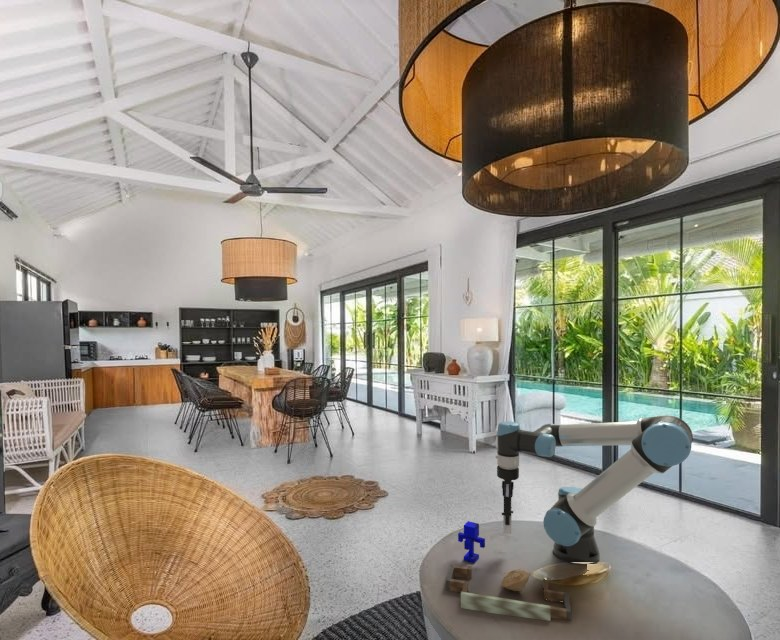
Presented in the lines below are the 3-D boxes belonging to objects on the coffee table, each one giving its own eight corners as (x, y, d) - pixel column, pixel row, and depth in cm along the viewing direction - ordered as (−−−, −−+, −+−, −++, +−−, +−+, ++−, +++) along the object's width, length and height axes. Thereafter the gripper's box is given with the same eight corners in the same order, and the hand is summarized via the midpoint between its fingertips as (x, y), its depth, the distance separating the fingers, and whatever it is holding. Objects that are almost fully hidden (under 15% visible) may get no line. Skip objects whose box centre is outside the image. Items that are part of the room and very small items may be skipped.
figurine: (465, 566, 155) (465, 530, 155) (457, 555, 162) (457, 521, 162) (486, 563, 157) (486, 528, 157) (477, 552, 164) (476, 518, 164)
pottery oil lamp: (523, 578, 148) (523, 556, 148) (533, 600, 136) (533, 576, 136) (495, 577, 148) (495, 555, 148) (504, 600, 136) (503, 576, 136)
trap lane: (565, 589, 141) (565, 576, 141) (571, 626, 124) (571, 611, 124) (451, 572, 151) (451, 560, 151) (442, 604, 134) (442, 590, 134)
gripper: (498, 459, 171) (497, 523, 171) (496, 470, 158) (495, 539, 158) (519, 461, 169) (518, 526, 169) (518, 473, 156) (518, 542, 156)
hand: (507, 532), depth 164 cm, fingers closed
